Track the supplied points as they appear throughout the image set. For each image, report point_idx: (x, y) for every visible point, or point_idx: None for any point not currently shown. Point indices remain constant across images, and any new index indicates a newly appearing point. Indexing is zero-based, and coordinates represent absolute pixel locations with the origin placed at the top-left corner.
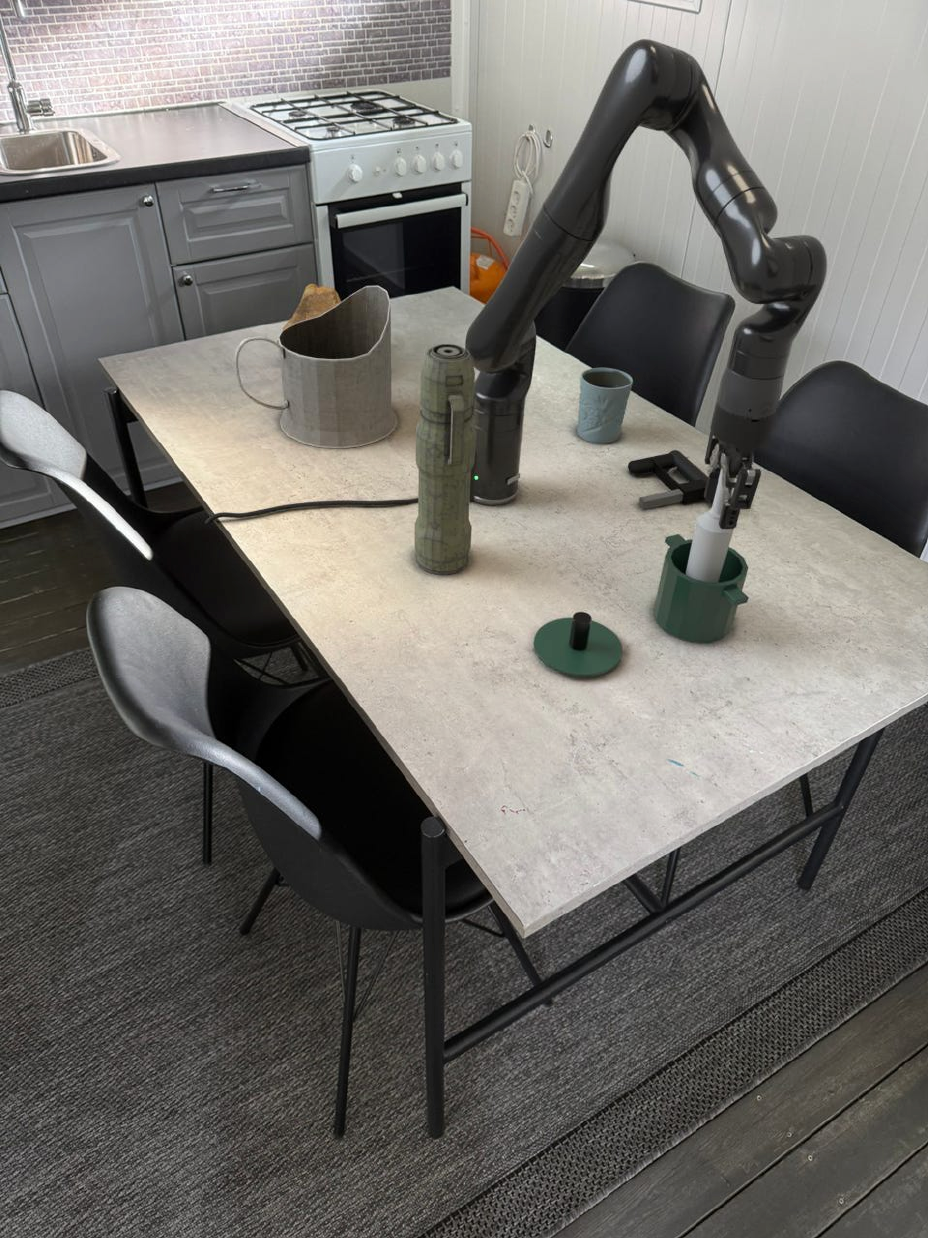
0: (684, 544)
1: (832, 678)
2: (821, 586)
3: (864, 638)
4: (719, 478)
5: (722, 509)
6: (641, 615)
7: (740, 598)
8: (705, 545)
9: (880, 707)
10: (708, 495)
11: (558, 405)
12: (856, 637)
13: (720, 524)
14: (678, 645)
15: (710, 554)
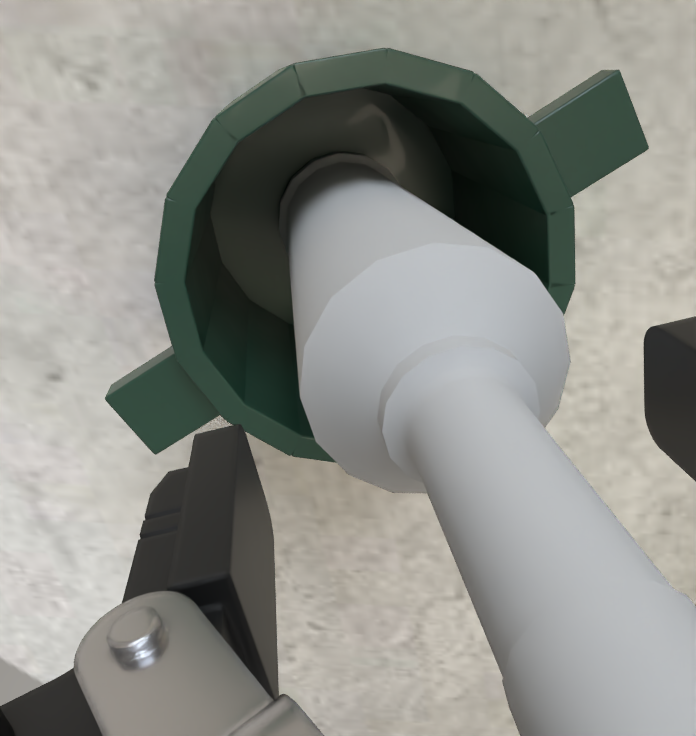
0: (524, 172)
1: None
2: None
3: (335, 659)
4: (623, 616)
5: (224, 519)
6: (317, 7)
7: (130, 421)
8: (309, 288)
9: (59, 672)
10: (674, 360)
11: None
12: (336, 644)
13: (192, 445)
14: (164, 155)
15: (295, 312)
